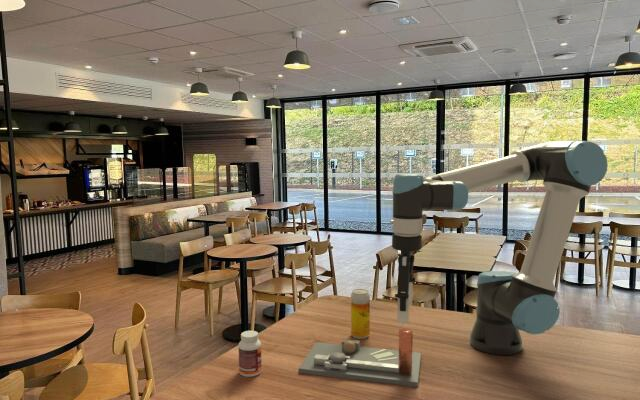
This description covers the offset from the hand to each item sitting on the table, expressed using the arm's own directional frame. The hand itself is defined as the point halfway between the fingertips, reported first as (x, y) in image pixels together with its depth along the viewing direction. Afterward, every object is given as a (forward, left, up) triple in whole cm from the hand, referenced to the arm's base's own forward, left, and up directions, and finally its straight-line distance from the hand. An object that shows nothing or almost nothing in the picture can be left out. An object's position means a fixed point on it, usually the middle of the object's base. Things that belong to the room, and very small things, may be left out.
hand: (404, 313), depth 123 cm
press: (+12, -5, -18) cm, 22 cm away
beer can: (+16, -25, -18) cm, 35 cm away
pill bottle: (+41, +7, -18) cm, 46 cm away
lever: (+11, 0, -16) cm, 20 cm away
